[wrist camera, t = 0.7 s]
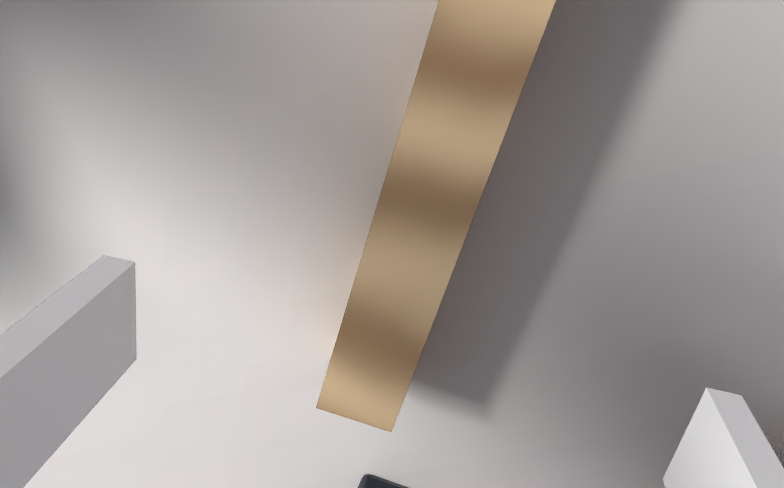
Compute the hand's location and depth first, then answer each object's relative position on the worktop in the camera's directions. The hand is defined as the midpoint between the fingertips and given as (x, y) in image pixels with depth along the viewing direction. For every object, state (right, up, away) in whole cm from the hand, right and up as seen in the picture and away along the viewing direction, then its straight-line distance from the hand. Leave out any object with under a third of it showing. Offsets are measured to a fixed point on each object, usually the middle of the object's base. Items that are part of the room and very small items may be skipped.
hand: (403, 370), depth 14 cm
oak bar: (+2, +6, +17) cm, 18 cm away
